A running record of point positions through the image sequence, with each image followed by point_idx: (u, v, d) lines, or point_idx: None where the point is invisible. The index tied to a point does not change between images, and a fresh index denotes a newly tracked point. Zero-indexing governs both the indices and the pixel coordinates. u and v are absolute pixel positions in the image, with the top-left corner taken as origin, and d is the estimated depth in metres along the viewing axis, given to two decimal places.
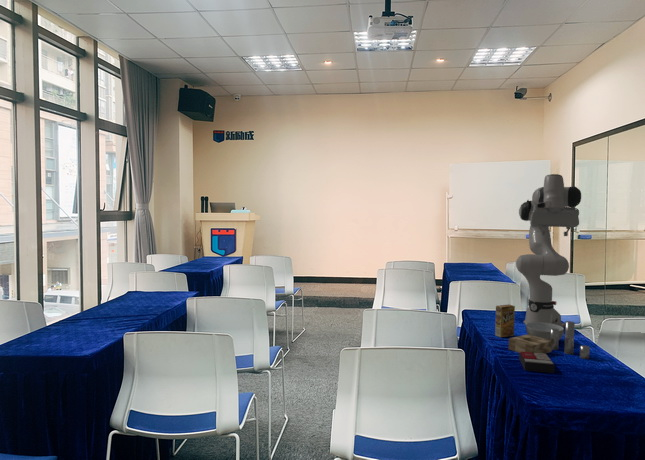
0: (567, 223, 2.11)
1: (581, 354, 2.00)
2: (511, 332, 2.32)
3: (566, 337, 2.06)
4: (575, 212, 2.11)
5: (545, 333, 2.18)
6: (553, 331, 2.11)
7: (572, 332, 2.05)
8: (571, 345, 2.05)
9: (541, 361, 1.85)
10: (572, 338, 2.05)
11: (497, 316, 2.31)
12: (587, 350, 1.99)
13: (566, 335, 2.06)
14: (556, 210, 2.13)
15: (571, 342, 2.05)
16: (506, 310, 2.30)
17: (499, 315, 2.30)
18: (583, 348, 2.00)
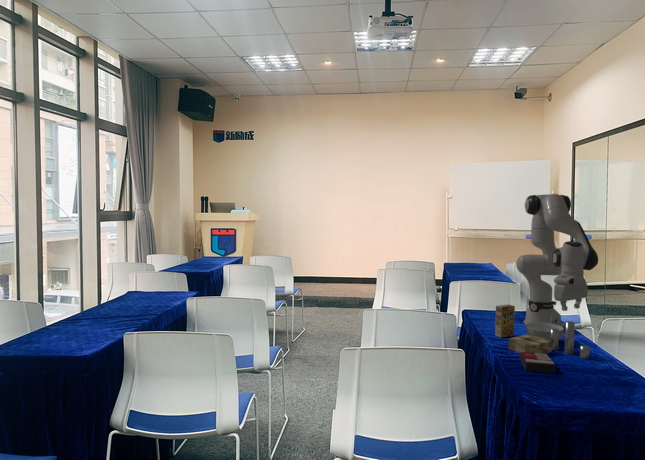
0: (581, 297, 2.06)
1: (581, 354, 2.00)
2: (511, 332, 2.32)
3: (566, 337, 2.06)
4: (586, 284, 2.08)
5: (545, 333, 2.18)
6: (553, 331, 2.11)
7: (572, 332, 2.05)
8: (571, 345, 2.05)
9: (542, 361, 1.85)
10: (572, 338, 2.05)
11: (497, 316, 2.31)
12: (587, 350, 1.99)
13: (566, 335, 2.06)
14: (579, 285, 2.03)
15: (571, 342, 2.05)
16: (506, 310, 2.30)
17: (499, 315, 2.30)
18: (583, 348, 2.00)
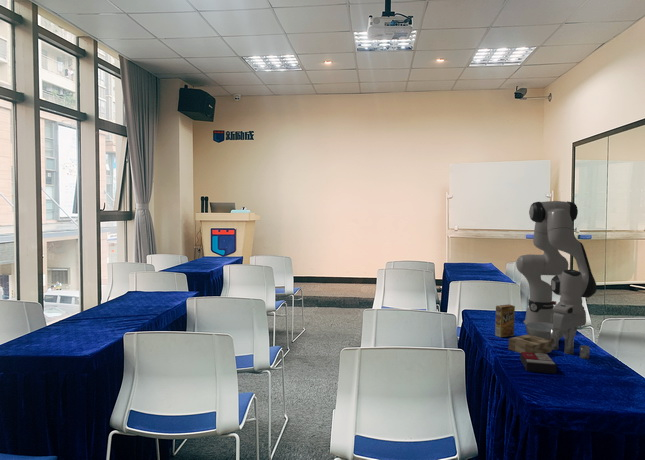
0: (580, 324, 2.07)
1: (581, 354, 2.00)
2: (511, 332, 2.32)
3: None
4: (585, 312, 2.09)
5: (545, 333, 2.18)
6: (553, 331, 2.11)
7: (572, 332, 2.05)
8: (571, 345, 2.05)
9: (543, 361, 1.85)
10: (572, 338, 2.05)
11: (497, 316, 2.31)
12: (587, 350, 1.99)
13: None
14: (577, 314, 2.04)
15: (571, 342, 2.05)
16: (506, 310, 2.30)
17: (499, 315, 2.30)
18: (583, 348, 2.00)
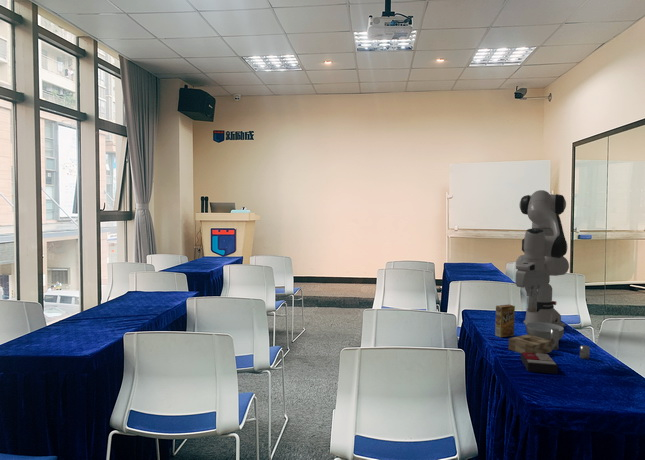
0: (543, 283, 2.09)
1: (581, 354, 2.00)
2: (511, 332, 2.32)
3: None
4: (548, 271, 2.11)
5: (545, 333, 2.18)
6: (553, 331, 2.11)
7: (535, 290, 2.06)
8: (534, 303, 2.07)
9: (544, 362, 1.85)
10: (535, 296, 2.07)
11: (497, 316, 2.31)
12: (587, 350, 1.99)
13: None
14: (540, 271, 2.05)
15: (534, 300, 2.07)
16: (506, 310, 2.30)
17: (499, 315, 2.30)
18: (583, 348, 2.00)
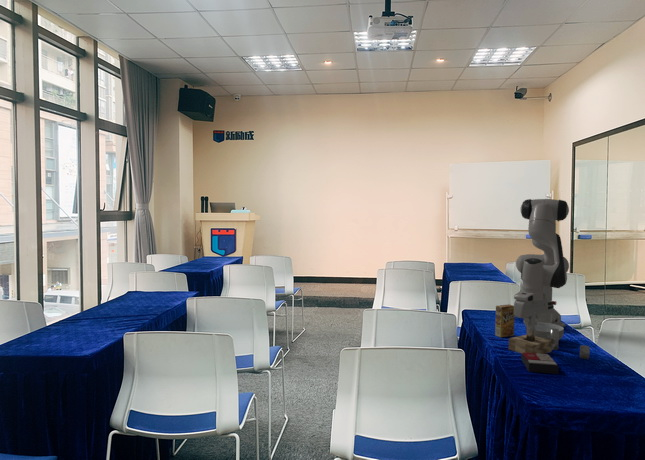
0: (541, 312, 2.10)
1: (581, 354, 2.00)
2: (511, 332, 2.32)
3: None
4: (546, 300, 2.12)
5: (545, 333, 2.18)
6: (553, 331, 2.11)
7: (533, 320, 2.07)
8: (532, 333, 2.08)
9: (545, 362, 1.84)
10: (533, 326, 2.08)
11: (497, 316, 2.31)
12: (587, 350, 1.99)
13: None
14: (538, 302, 2.06)
15: (532, 330, 2.08)
16: (506, 310, 2.30)
17: (499, 315, 2.30)
18: (583, 348, 2.00)
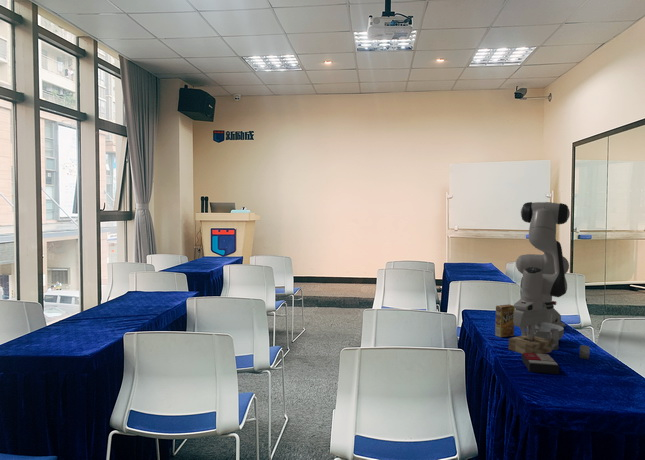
0: (541, 321, 2.10)
1: (581, 354, 2.00)
2: (511, 332, 2.32)
3: (527, 335, 2.09)
4: (546, 309, 2.12)
5: (545, 333, 2.18)
6: (553, 331, 2.11)
7: (533, 330, 2.08)
8: None
9: (545, 362, 1.84)
10: (533, 336, 2.08)
11: (497, 316, 2.31)
12: (587, 350, 1.99)
13: (527, 333, 2.09)
14: (538, 311, 2.07)
15: (532, 340, 2.08)
16: (506, 310, 2.30)
17: (499, 315, 2.30)
18: (583, 348, 2.00)
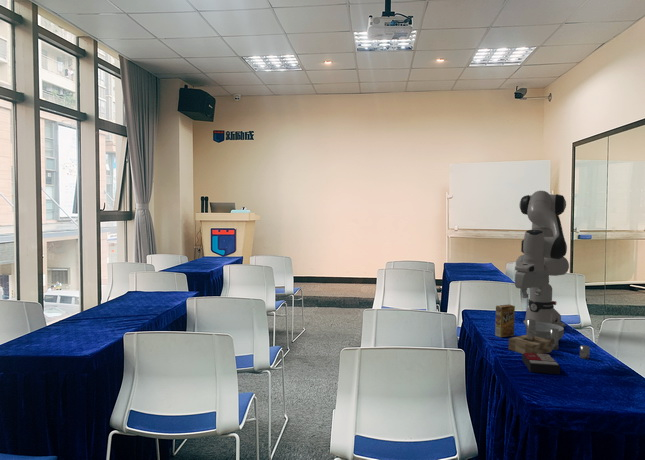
0: (543, 284, 2.09)
1: (581, 354, 2.00)
2: (511, 332, 2.32)
3: (527, 335, 2.09)
4: (547, 272, 2.11)
5: (545, 333, 2.18)
6: (553, 331, 2.11)
7: (533, 330, 2.08)
8: None
9: (546, 362, 1.84)
10: (533, 336, 2.08)
11: (497, 316, 2.31)
12: (587, 350, 1.99)
13: (527, 333, 2.09)
14: (539, 273, 2.05)
15: (532, 340, 2.08)
16: (506, 310, 2.30)
17: (499, 315, 2.30)
18: (583, 348, 2.00)
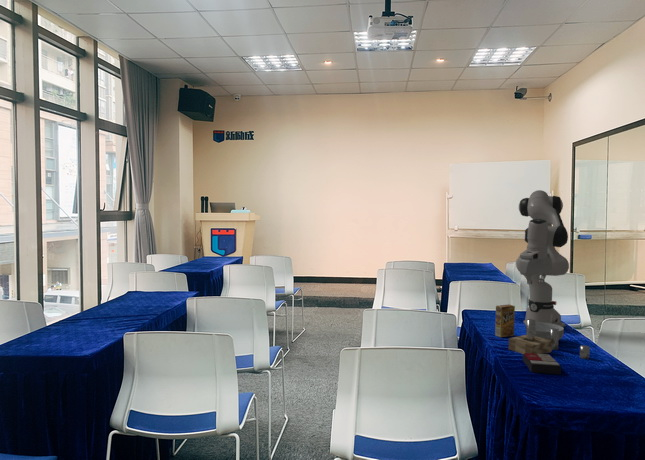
0: (546, 271, 2.19)
1: (581, 354, 2.00)
2: (511, 332, 2.32)
3: (527, 335, 2.09)
4: (551, 260, 2.20)
5: (545, 333, 2.18)
6: (553, 331, 2.11)
7: (533, 330, 2.08)
8: None
9: (547, 362, 1.84)
10: (533, 336, 2.08)
11: (497, 316, 2.31)
12: (587, 350, 1.99)
13: (527, 333, 2.09)
14: (543, 260, 2.15)
15: (532, 340, 2.08)
16: (506, 310, 2.30)
17: (499, 315, 2.30)
18: (583, 348, 2.00)
